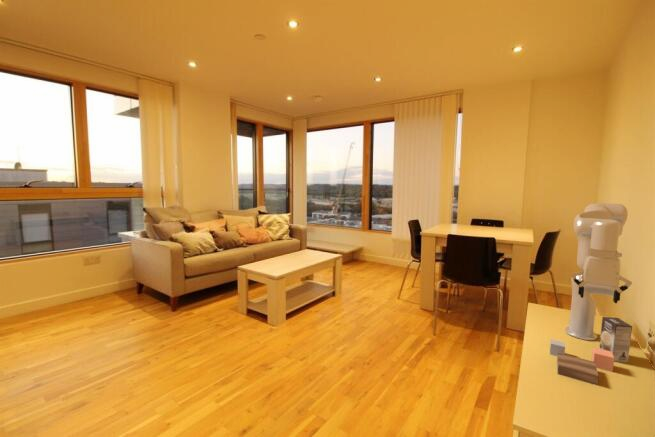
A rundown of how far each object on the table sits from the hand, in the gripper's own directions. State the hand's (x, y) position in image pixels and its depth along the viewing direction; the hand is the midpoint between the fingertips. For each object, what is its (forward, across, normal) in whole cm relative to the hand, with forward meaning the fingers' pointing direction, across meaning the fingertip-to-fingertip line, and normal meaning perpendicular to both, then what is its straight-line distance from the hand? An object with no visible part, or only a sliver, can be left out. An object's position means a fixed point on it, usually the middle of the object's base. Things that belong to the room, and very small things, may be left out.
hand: (597, 299), depth 119 cm
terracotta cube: (+31, -5, -14) cm, 35 cm away
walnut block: (+32, +4, -2) cm, 32 cm away
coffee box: (+31, -10, -27) cm, 43 cm away
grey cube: (+31, +10, -15) cm, 36 cm away
